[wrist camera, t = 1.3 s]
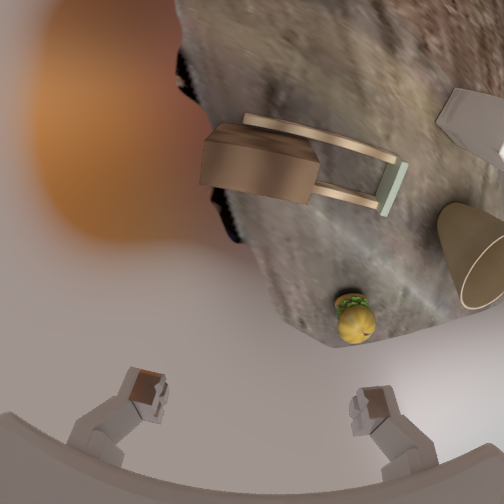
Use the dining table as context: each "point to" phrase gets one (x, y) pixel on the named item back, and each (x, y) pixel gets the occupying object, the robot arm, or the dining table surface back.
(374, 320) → the hamburger
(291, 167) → the block
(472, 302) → the plant pot
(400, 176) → the end stop
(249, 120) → the chute
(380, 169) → the dining table surface
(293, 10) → the dining table surface
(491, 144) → the skincare box
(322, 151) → the dining table surface
